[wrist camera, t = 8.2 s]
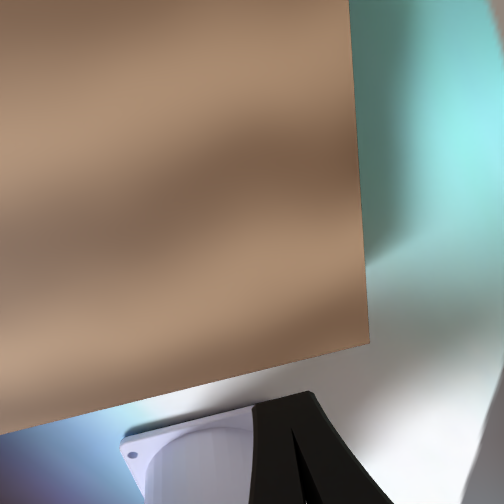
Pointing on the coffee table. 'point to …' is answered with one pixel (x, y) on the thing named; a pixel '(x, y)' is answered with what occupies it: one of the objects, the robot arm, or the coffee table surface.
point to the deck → (172, 197)
